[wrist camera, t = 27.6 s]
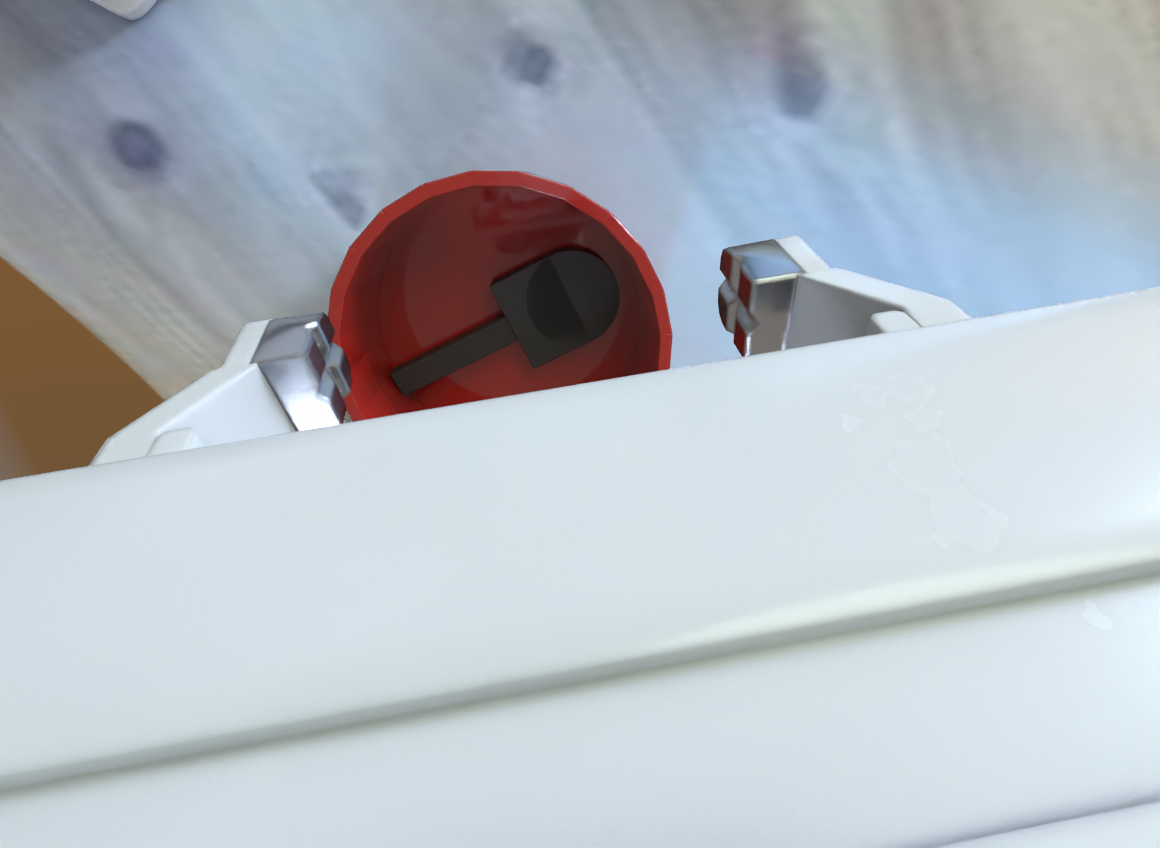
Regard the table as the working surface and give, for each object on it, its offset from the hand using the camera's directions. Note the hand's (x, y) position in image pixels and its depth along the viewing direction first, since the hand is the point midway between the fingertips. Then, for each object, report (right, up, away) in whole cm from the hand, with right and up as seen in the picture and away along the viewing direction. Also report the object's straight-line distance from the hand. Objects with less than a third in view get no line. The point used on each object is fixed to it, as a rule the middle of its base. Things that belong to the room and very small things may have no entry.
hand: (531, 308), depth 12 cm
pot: (-4, +6, +34) cm, 35 cm away
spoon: (-4, +6, +34) cm, 34 cm away
